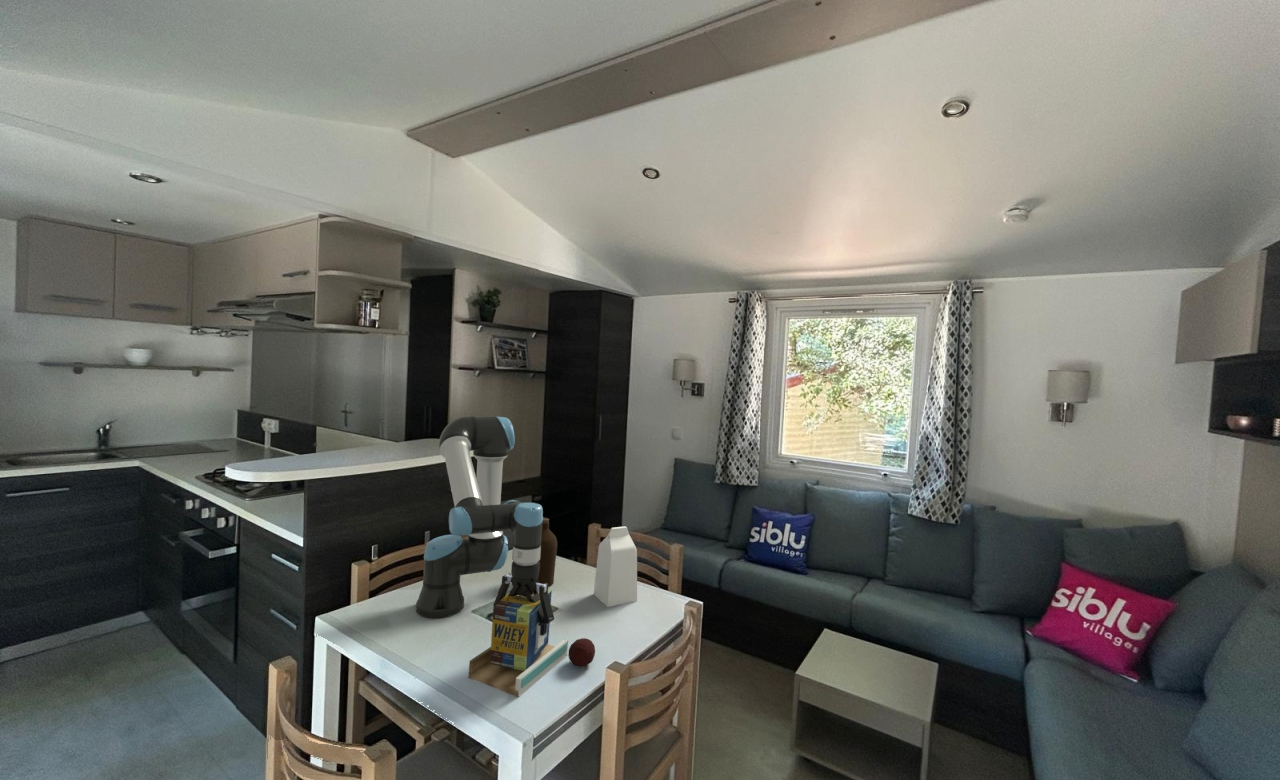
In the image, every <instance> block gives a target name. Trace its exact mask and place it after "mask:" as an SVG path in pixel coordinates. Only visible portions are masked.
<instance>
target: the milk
mask: <svg viewBox="0 0 1280 780" xmlns="http://www.w3.org/2000/svg"><path fill="white" fill-rule="evenodd" d="M593 595H594V596H595V597H596V599H598V600H599V601H600V602H601V603H603V605H605V606H606V607H607V608H609V607H614V606H620V605H625V604H629V603H630V604H631V603H635V602H636V603H637V602H638V550H637V546H636V545H635V542H634V541H633V539H632V537H631V536H630V532H629V530H628V527H627V526H617V527H616V526H615V527H611V528H610V530H609V532H608V534H607V536H606V537H605V538H604V539H603V540H602V541H601V542H600V543H599V545H598V550H597V562H596V569H595V579H594V589H593Z"/></svg>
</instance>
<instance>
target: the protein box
mask: <svg viewBox="0 0 1280 780" xmlns="http://www.w3.org/2000/svg"><path fill="white" fill-rule="evenodd" d="M537 591H538V588H537ZM552 591H553V590H552V589H551V590H550V589H548V594H549V598H550V603H551V604H552V593H553V592H552ZM538 593H539V592H538ZM508 594H509V593H506V596H505V597H504V598H503V599H502V600H500V601H499V602H498V603H497V604H496V605H494V606H493V605H492V606H493V607H492V623H491V624H492V625H491V640H490V641H491V643H490V647H491V657H490V664H493V665H498V666H503V667H508V668H513V669H517V670H522V671H525V670H526V669H528V668H529V666H530V665H531V664H532V663H533V661H534V660H535V659H536V658H537V656H538V655H539V654H540V653H541V651H542V650H543V649H544V648H545V647H546V645H547V644H549V637H550V623H551V622H550V623H548V624H547V632H546V634H545V635H544V644H543V645H542V646H540V647H539V648H538V649H537V648H535V647H536V629H537V623H539V620H538V618H537V615H538V608H539V606H540V605H541V601H540V600H539V601H538V602H536V603H533V602H530V601H529V600H528V598H527V597H524V596H522V595H517V594H516V595H514V596H509V595H508ZM533 595H534V593H533V594H532V596H533ZM539 598H540V597H539Z"/></svg>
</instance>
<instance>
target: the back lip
mask: <svg viewBox="0 0 1280 780" xmlns="http://www.w3.org/2000/svg"><path fill="white" fill-rule="evenodd" d="M490 657H491V646H490V647H488V648H487V649H485V650H483V652H481V653H479V654H477V655H476V656H475V657H473V658H471V659H470V660H469V664H468V665H469V666H468V667H469V668H468V673H469V672H470V673H471V674H472V673H473V672H474V671H476V670H477V669H479V668H480V667H482V666H483V665H484V664H486V663H487V662H489V661H490ZM471 678H472V677H471Z"/></svg>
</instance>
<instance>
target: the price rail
mask: <svg viewBox="0 0 1280 780" xmlns="http://www.w3.org/2000/svg"><path fill="white" fill-rule="evenodd" d="M554 646H555V647H554V648H553V649H552V650H550V651H549V652H548V653H547V654H545V655H544V656H543V657H542V658H540V659H539V660H538V661H536V662H535V663H534V664H533V665H531V666H530V667H529V668H528V669H526V670H525V671H524V672H523V673H521V674H520V675H519V676H518V677H516V685H515V690H517V691H518V692H519V696H518V698H520V697H521V696H522V695H523V694H525V693H526V692H527V691H528V690H529V689H530V688H532V686H534V685H535V684H536V683H537V682H539V681H540V680H541V679H542V678H544V676H545V675H547V674H548V673H549V672H550V671H551V670H552V669H554V668H555V667H556V666H557V665H559V663H560V662H562V661H563V660H564V659H565V658H566V657H568V651H569V649H568V648H569V640H568V639H566V638H564V639H563V640H562V641H560V642H559V643H558V644H556V645H554ZM515 692H516V691H515ZM516 694H517V695H518V693H517V692H516ZM517 695H515V697H517Z"/></svg>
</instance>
